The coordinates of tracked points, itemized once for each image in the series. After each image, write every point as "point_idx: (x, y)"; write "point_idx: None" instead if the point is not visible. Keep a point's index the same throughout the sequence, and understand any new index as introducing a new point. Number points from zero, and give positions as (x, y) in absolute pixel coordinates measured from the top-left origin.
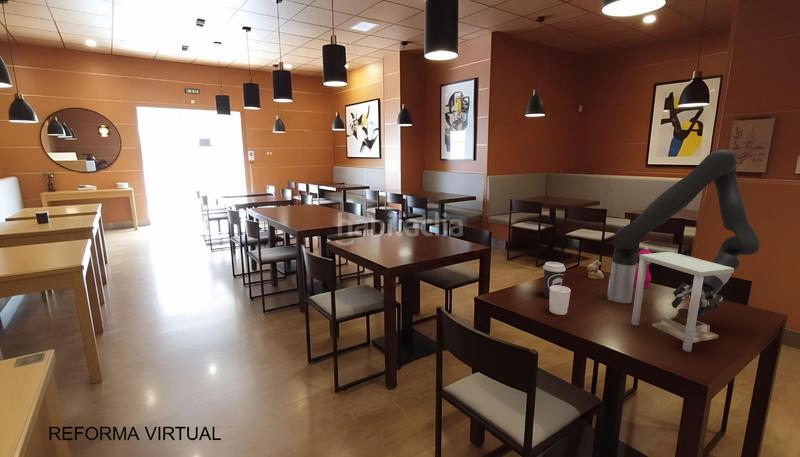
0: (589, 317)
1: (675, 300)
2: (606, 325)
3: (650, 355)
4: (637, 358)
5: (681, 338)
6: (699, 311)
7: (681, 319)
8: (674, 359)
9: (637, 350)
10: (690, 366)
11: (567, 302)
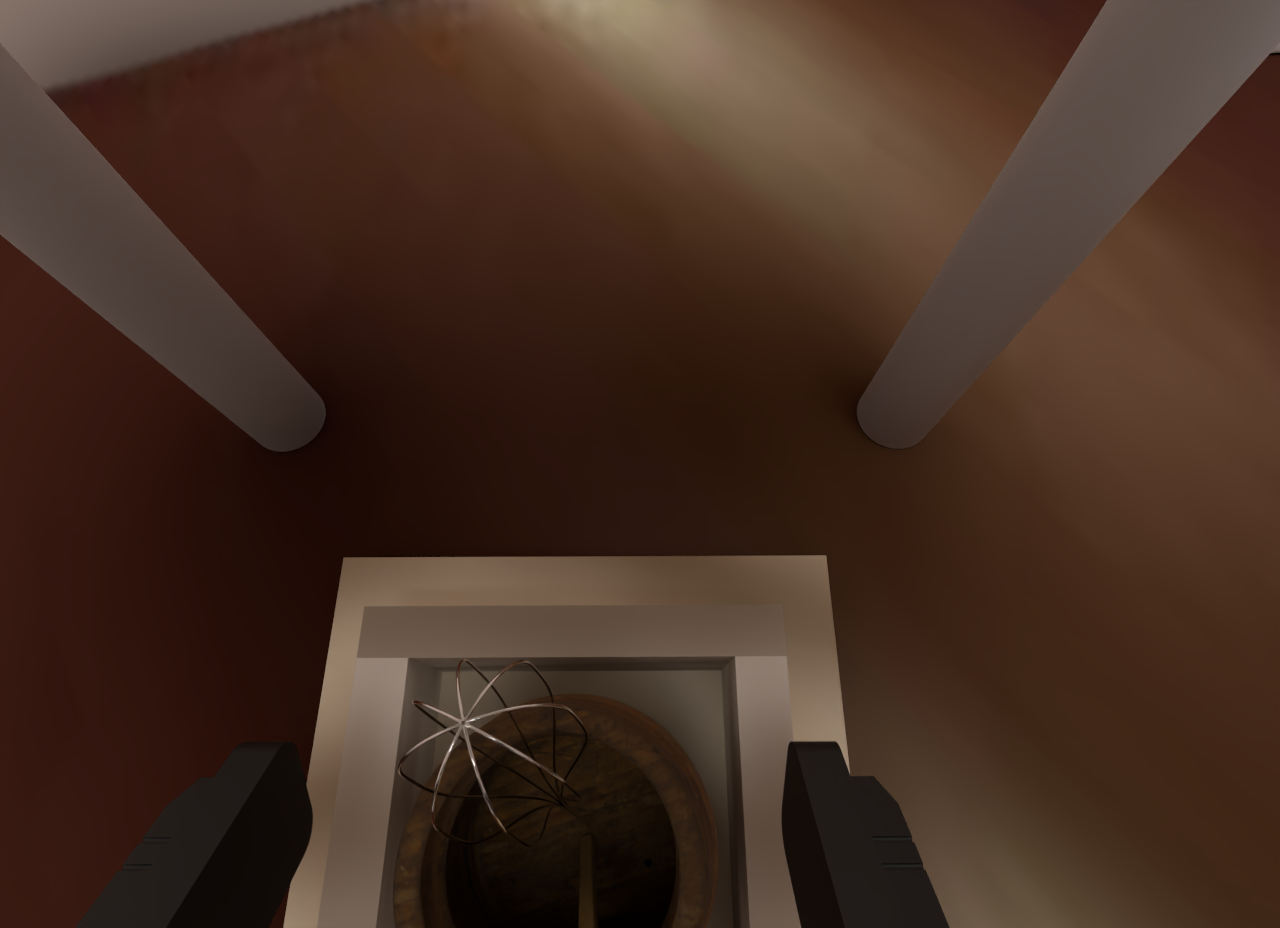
0: None
1: (864, 854)
2: (911, 159)
3: (375, 95)
4: (387, 3)
5: (442, 562)
6: (188, 830)
7: (547, 698)
8: (250, 192)
9: (467, 72)
10: None
11: None
